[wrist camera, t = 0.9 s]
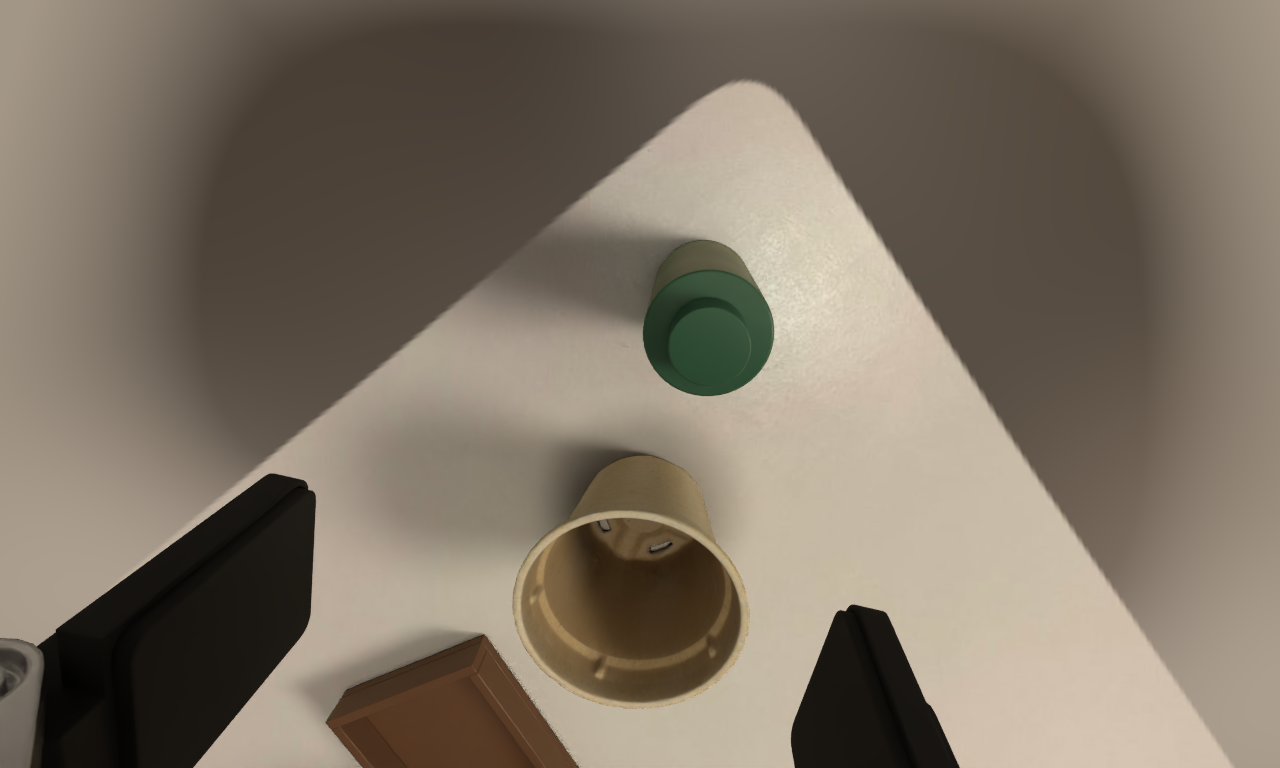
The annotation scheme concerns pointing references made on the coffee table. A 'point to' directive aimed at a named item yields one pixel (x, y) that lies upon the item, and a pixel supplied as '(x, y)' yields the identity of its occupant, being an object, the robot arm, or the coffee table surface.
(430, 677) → the tray
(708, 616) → the flower pot
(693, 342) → the bottle
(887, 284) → the coffee table surface
